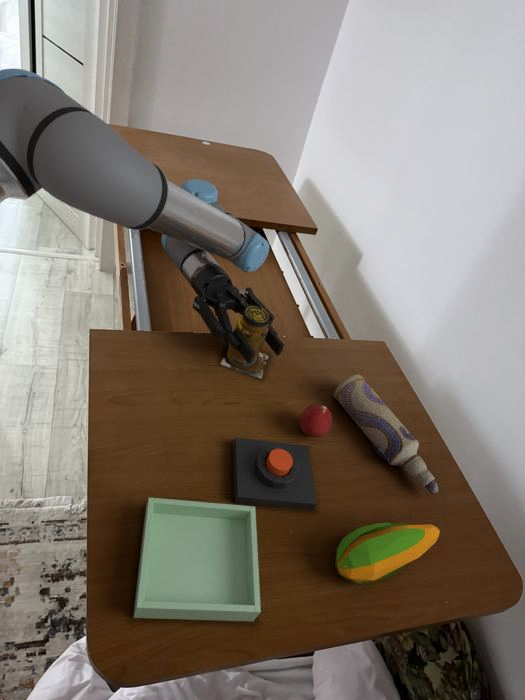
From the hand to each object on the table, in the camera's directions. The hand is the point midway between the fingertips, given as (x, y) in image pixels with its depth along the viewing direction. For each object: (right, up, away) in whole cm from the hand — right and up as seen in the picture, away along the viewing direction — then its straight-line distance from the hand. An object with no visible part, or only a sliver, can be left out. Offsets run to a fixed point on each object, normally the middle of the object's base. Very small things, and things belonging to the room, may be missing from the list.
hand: (266, 354), depth 94 cm
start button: (+2, -18, -13) cm, 22 cm away
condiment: (-4, -1, +8) cm, 9 cm away
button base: (+1, -20, -10) cm, 23 cm away
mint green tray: (-10, -29, -24) cm, 39 cm away
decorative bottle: (+20, -17, +2) cm, 27 cm away
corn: (+18, -31, -15) cm, 39 cm away
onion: (+8, -15, -1) cm, 17 cm away
